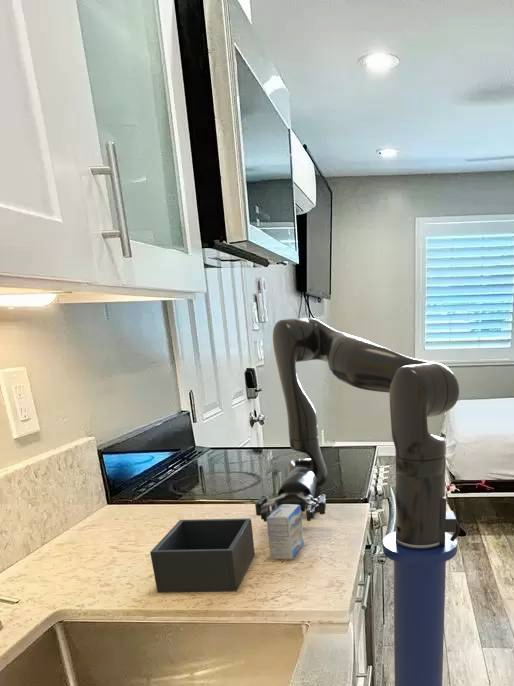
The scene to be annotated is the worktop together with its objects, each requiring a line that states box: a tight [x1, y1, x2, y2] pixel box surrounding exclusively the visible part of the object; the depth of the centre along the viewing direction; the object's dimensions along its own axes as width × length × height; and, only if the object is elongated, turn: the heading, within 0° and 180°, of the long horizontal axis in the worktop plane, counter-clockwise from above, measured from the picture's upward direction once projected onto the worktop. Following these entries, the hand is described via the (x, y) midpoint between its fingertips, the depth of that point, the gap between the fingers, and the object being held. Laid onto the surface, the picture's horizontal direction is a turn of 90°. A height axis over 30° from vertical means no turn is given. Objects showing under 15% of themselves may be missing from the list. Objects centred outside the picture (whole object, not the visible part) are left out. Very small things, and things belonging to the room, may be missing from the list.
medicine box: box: [266, 504, 304, 561], centre depth 110 cm, size 8×4×9 cm, turn 170°
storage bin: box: [149, 518, 256, 594], centre depth 103 cm, size 14×16×8 cm
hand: (286, 516), depth 112 cm, fingers open, 8 cm apart
